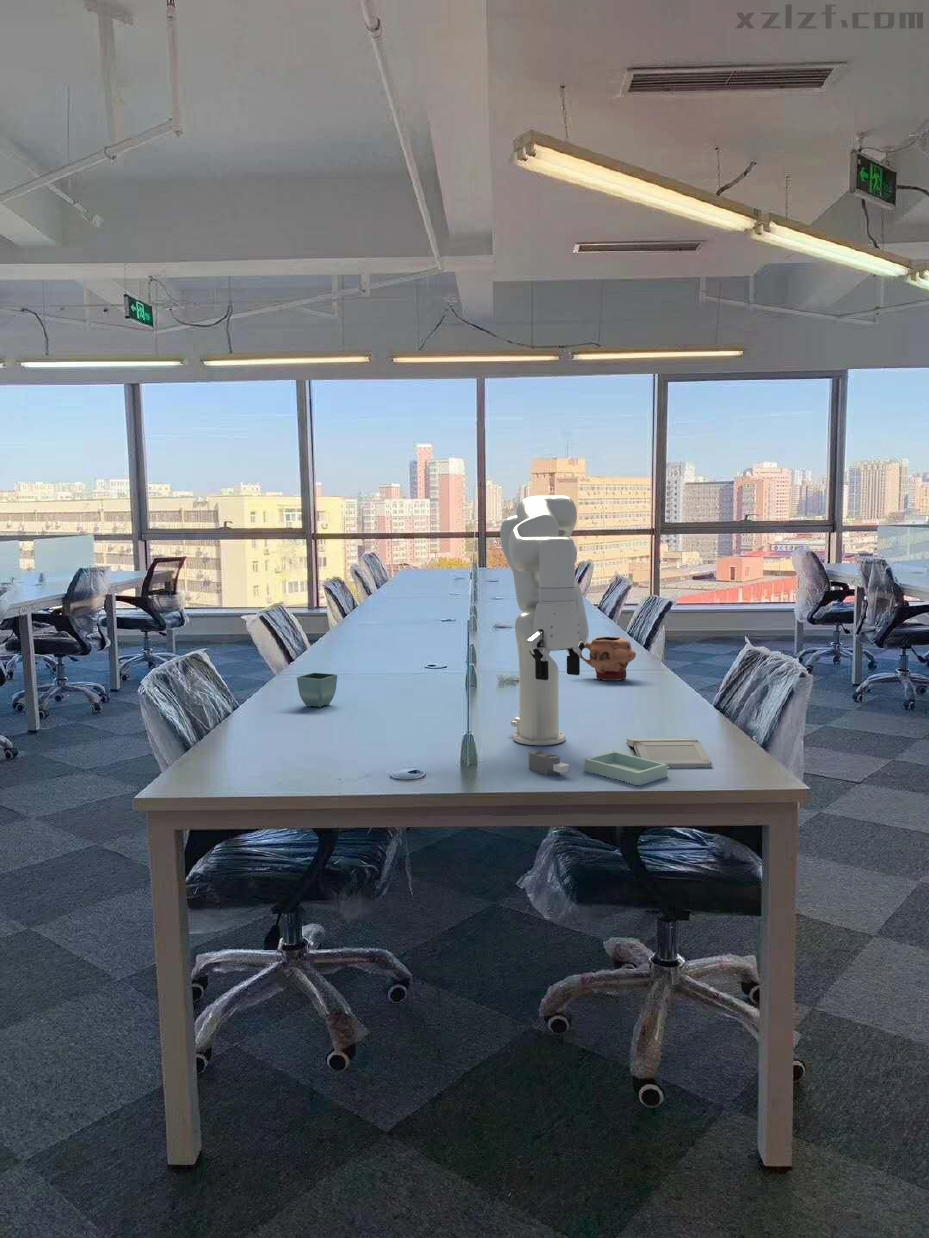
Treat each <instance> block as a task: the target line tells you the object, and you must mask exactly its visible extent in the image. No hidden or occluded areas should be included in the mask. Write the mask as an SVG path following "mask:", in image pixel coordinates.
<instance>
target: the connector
mask: <svg viewBox="0 0 929 1238" xmlns="http://www.w3.org/2000/svg"><path fill="white" fill-rule="evenodd" d="M528 770H530V771H532V772H536V773H539V774H542V775H546V776H550V777H551V776H552V777H556V776H560V775H561V774H564V773H567V772H569V771H570V764H568V763H564V762H561V756H560V755H557V754H553V753H550V752H547V751H542V750H529V751H528Z"/></svg>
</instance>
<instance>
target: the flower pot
mask: <svg viewBox="0 0 929 1238" xmlns="http://www.w3.org/2000/svg"><path fill="white" fill-rule="evenodd" d="M337 681H338V674H335V673H323V672H311V673H307V674H303V675H300V676H297V677H296V683H297V688H298V693H299V697H300V699H301V701H302V702H303V704H304V705H305V706H306V707H311V706H318V707H317V708H319V707H320V708H322V707H321V706H323V705H326V706H329V705H330V704H331V702H332V701H333V700H334V696H335V694H336V691H337ZM328 704H329V705H328ZM307 705H308V706H307ZM323 707H324V706H323Z"/></svg>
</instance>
